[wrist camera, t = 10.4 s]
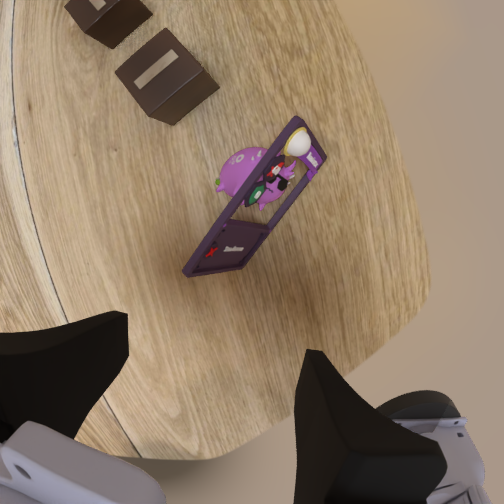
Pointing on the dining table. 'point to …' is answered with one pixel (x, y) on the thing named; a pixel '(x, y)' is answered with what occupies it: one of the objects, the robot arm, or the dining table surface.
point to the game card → (254, 198)
